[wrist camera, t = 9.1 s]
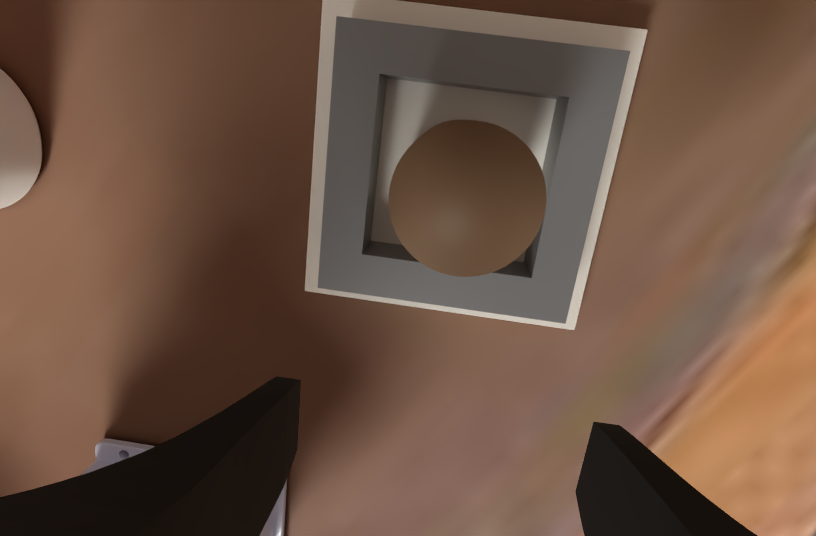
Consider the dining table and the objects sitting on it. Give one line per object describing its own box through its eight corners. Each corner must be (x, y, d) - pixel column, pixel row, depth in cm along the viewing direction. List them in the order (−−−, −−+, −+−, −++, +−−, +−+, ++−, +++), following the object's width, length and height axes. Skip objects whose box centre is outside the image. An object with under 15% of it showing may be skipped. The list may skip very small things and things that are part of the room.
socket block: (311, 283, 21) (289, 309, 18) (330, -2, 18) (306, -25, 15) (568, 320, 21) (587, 353, 18) (637, 34, 17) (673, 18, 15)
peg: (400, 223, 19) (383, 269, 13) (409, 115, 18) (394, 113, 12) (505, 233, 19) (533, 283, 13) (520, 124, 18) (558, 127, 12)
